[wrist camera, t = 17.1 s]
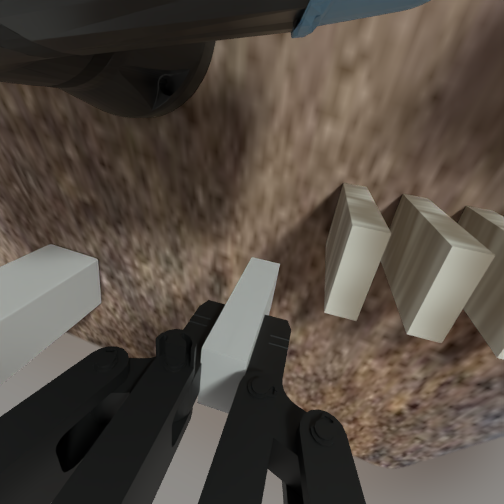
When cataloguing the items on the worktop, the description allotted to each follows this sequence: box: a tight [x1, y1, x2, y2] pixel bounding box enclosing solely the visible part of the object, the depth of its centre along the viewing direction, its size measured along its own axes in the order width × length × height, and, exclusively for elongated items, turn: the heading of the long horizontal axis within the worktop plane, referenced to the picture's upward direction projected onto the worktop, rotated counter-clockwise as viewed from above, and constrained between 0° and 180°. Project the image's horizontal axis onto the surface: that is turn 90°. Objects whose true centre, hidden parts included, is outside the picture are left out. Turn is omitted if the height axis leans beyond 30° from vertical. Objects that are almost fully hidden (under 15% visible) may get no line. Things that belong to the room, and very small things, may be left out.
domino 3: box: [457, 206, 504, 359], centre depth 20 cm, size 2×6×11 cm, turn 172°
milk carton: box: [0, 244, 101, 386], centre depth 29 cm, size 7×7×19 cm
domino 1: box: [324, 183, 391, 321], centre depth 21 cm, size 2×6×11 cm, turn 172°
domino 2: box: [381, 194, 495, 343], centre depth 20 cm, size 2×6×11 cm, turn 172°
